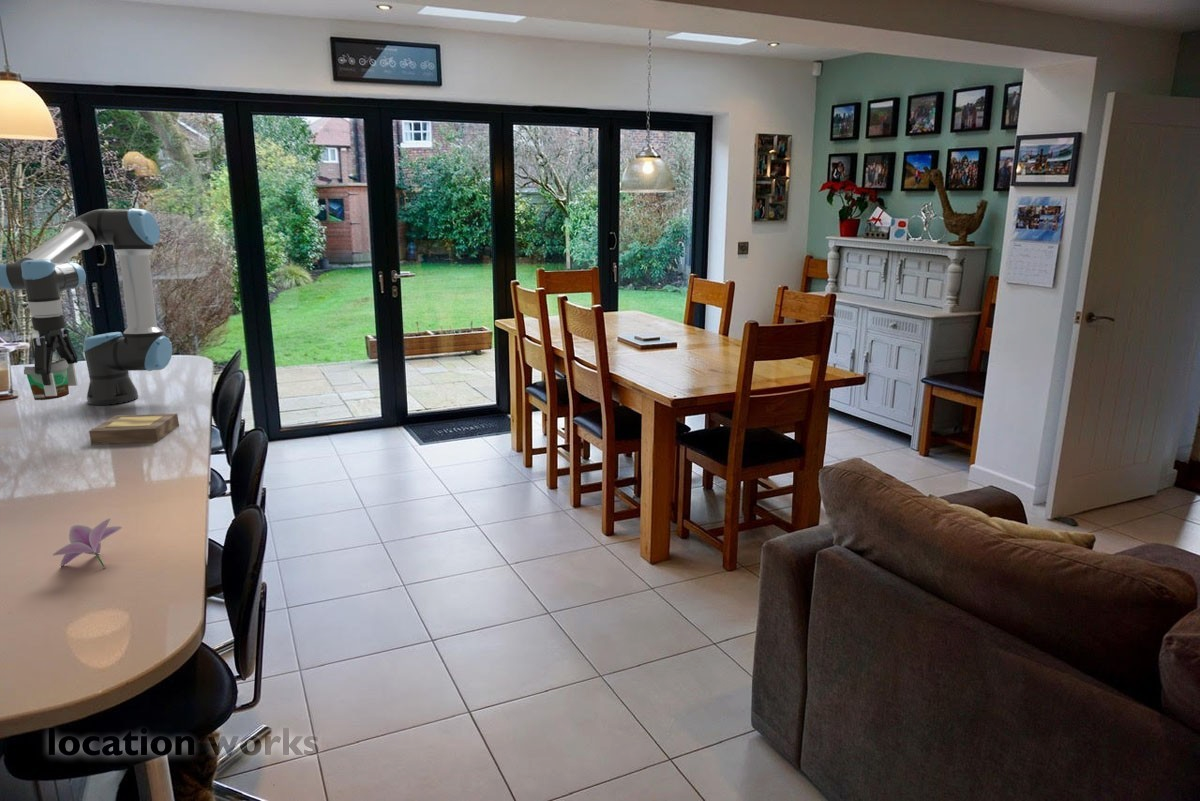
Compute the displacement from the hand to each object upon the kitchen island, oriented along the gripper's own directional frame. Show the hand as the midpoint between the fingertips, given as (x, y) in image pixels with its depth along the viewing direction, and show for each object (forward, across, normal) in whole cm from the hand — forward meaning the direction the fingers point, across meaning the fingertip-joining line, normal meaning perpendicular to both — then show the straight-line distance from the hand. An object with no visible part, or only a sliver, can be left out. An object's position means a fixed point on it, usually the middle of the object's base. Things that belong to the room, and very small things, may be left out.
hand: (62, 390), depth 227 cm
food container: (+2, +1, -1) cm, 2 cm away
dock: (+14, 0, +18) cm, 23 cm away
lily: (+14, +88, +46) cm, 100 cm away
